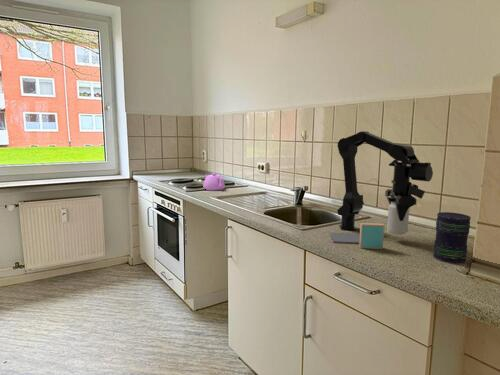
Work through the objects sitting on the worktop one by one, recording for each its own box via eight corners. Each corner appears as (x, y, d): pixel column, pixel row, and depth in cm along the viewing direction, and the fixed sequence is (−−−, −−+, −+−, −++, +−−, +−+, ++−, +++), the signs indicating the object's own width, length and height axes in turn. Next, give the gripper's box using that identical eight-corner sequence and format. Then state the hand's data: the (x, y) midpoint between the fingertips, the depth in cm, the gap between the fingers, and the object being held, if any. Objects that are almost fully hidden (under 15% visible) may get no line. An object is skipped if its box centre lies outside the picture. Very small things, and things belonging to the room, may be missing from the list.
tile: (359, 246, 131) (360, 222, 130) (381, 247, 130) (383, 223, 129) (360, 248, 129) (362, 224, 127) (383, 249, 128) (384, 225, 126)
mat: (329, 233, 147) (329, 232, 146) (359, 235, 145) (359, 233, 145) (333, 242, 135) (333, 241, 135) (365, 244, 134) (365, 242, 134)
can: (405, 230, 140) (408, 201, 138) (408, 235, 133) (411, 204, 131) (385, 229, 142) (388, 199, 140) (387, 234, 135) (390, 203, 133)
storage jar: (436, 251, 126) (440, 210, 124) (468, 257, 120) (473, 215, 118) (429, 259, 119) (433, 215, 116) (463, 266, 113) (468, 220, 110)
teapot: (231, 190, 252) (231, 173, 250) (213, 192, 242) (213, 175, 240) (214, 186, 269) (214, 170, 267) (196, 188, 259) (196, 172, 257)
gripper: (433, 182, 124) (429, 225, 127) (414, 176, 143) (411, 213, 145) (400, 181, 125) (397, 224, 128) (386, 175, 144) (383, 212, 146)
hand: (398, 218), depth 137 cm, fingers closed on can, 7 cm apart
